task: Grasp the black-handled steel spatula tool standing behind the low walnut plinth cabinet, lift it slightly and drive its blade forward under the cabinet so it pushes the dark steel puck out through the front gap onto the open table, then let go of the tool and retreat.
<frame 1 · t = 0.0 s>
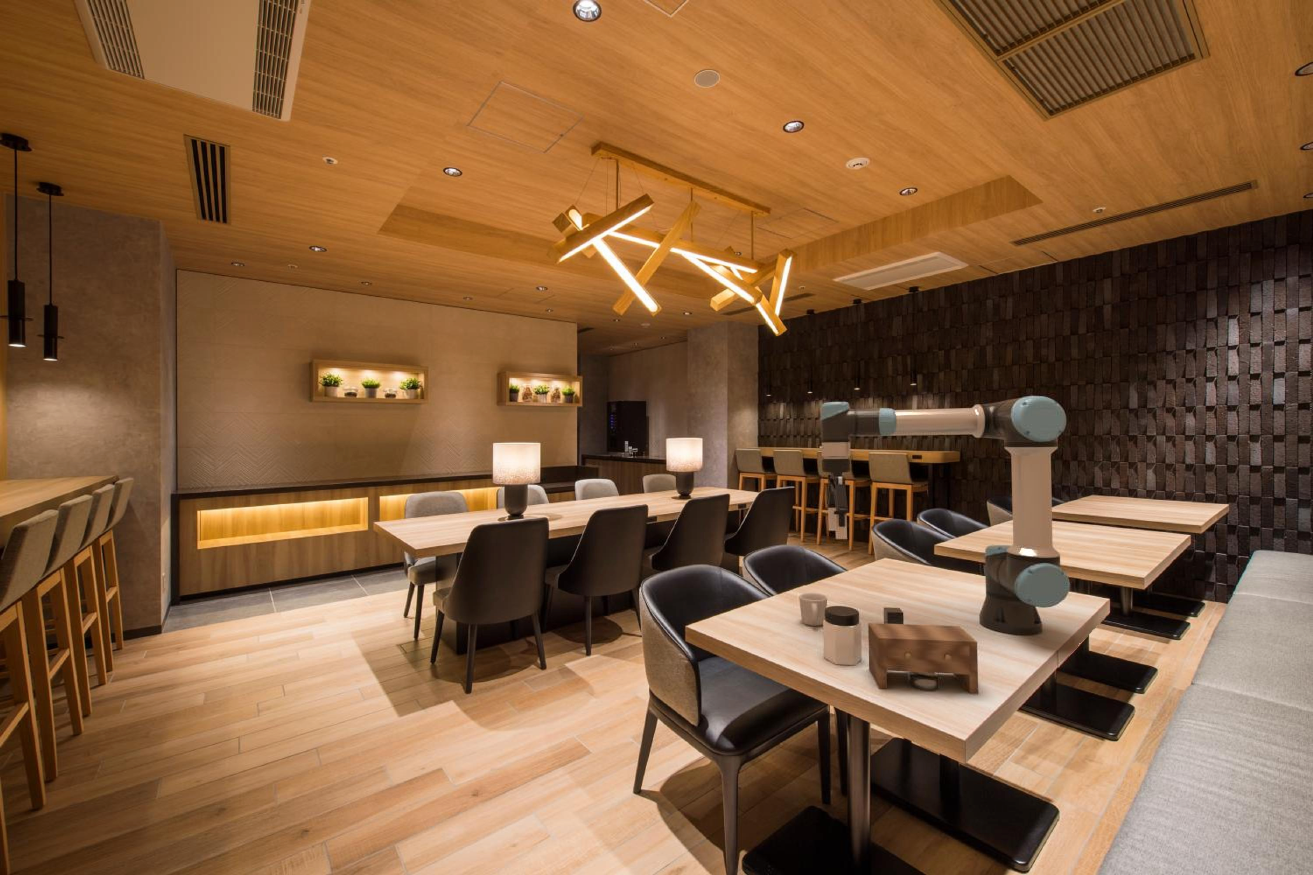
hand: (837, 534, 154), 28 cm above the table, fingers open, 13 cm apart
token: (923, 686, 122), on the table
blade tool: (893, 643, 147), on the table
cup: (813, 625, 163), on the table
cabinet: (920, 681, 124), on the table
jar: (842, 659, 137), on the table
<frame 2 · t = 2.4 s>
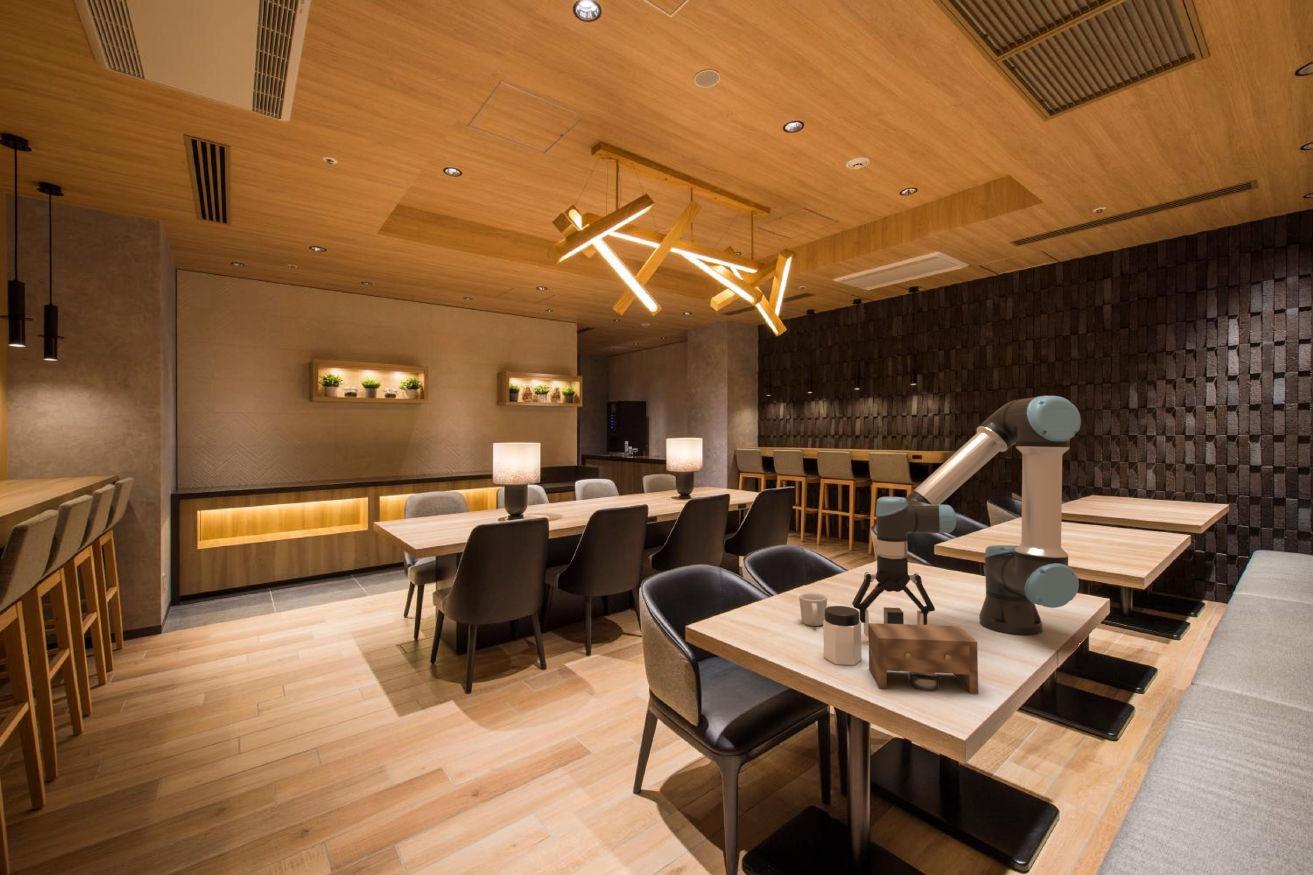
hand: (893, 635, 147), 2 cm above the table, fingers open, 13 cm apart
nothing on the table moved.
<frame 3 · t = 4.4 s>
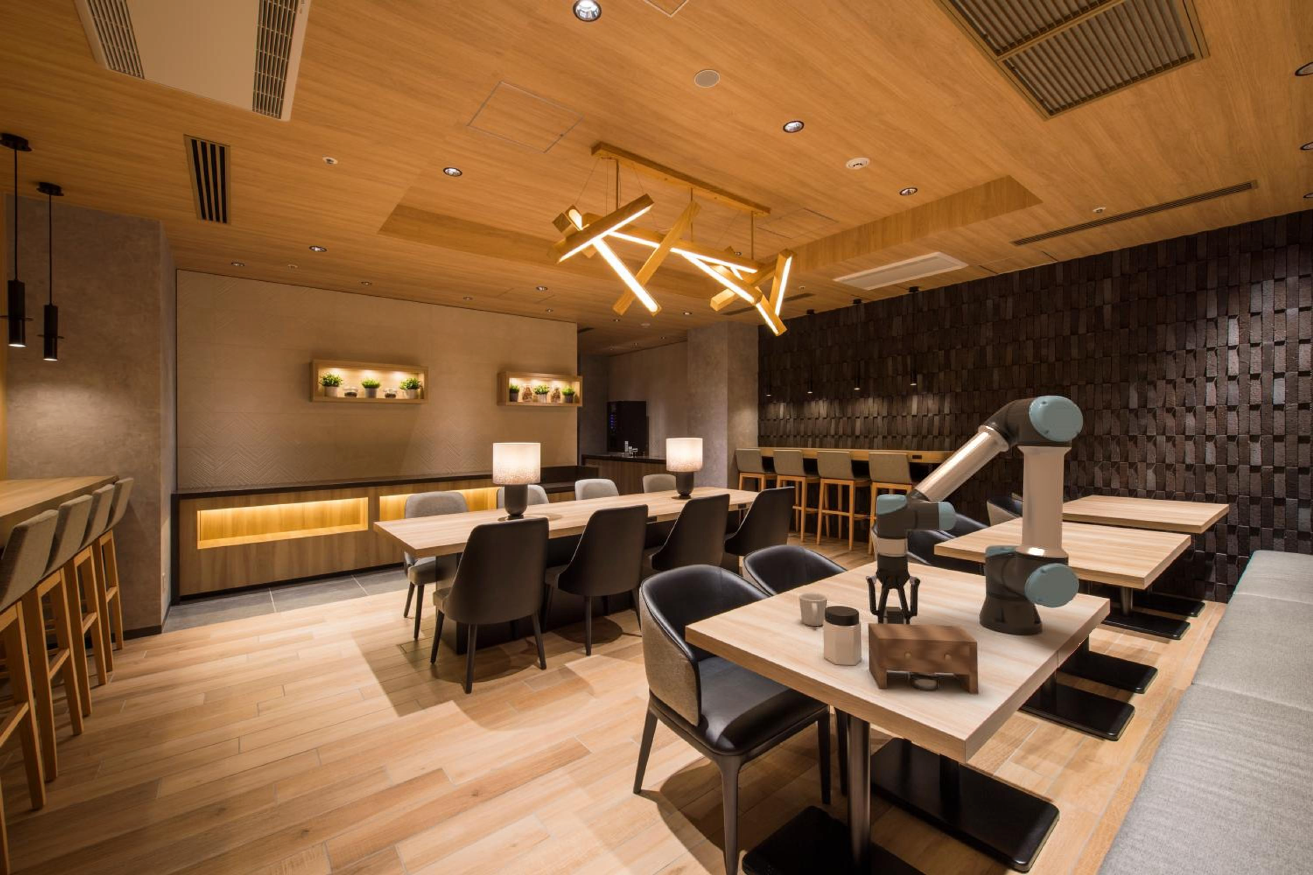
hand: (894, 641, 147), 1 cm above the table, fingers closed on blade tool, 4 cm apart
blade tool: (894, 642, 147), on the table, touching gripper
everything else where it was.
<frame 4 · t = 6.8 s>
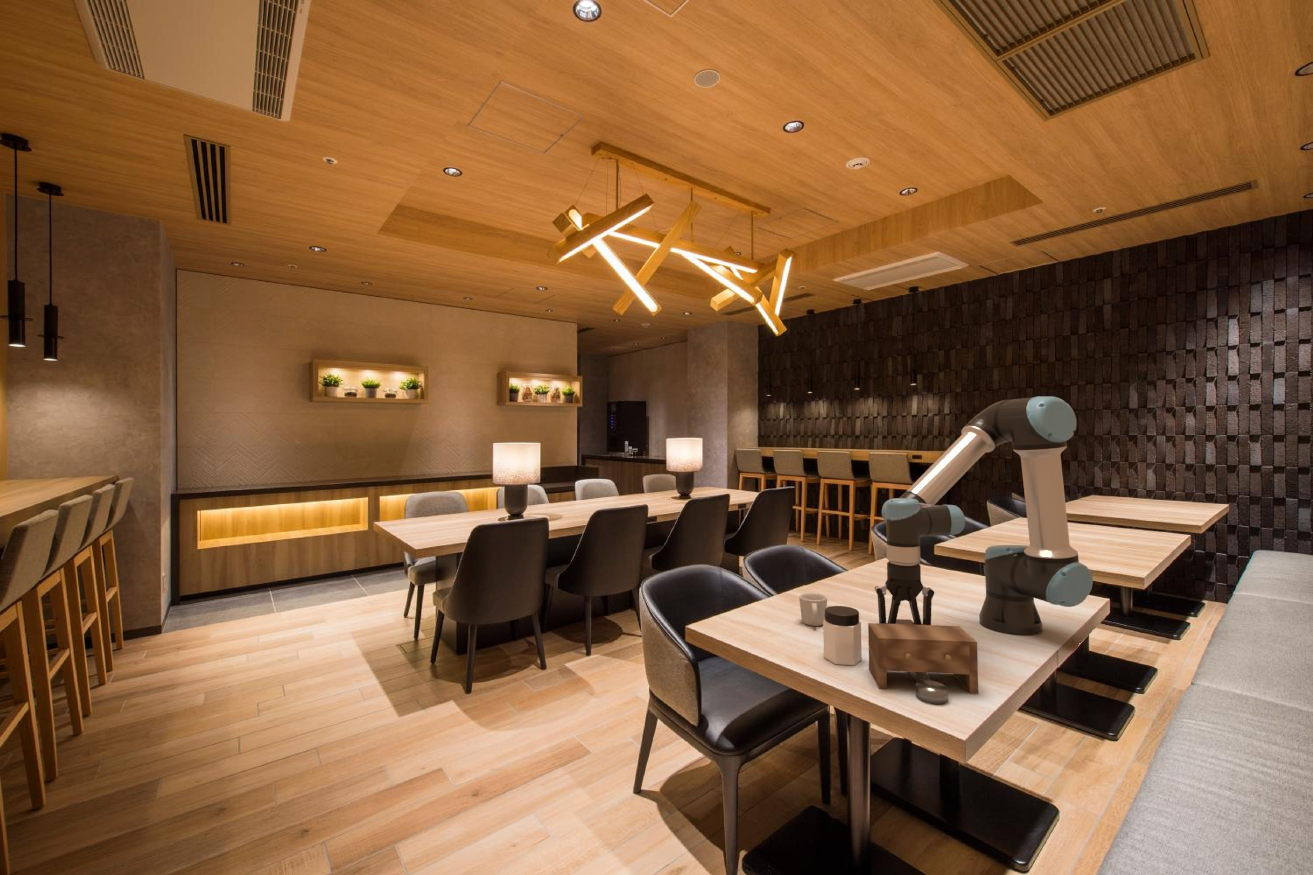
hand: (905, 657, 136), 1 cm above the table, fingers closed on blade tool, 4 cm apart
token: (931, 698, 116), on the table
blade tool: (905, 658, 136), on the table, touching gripper
everything else where it was.
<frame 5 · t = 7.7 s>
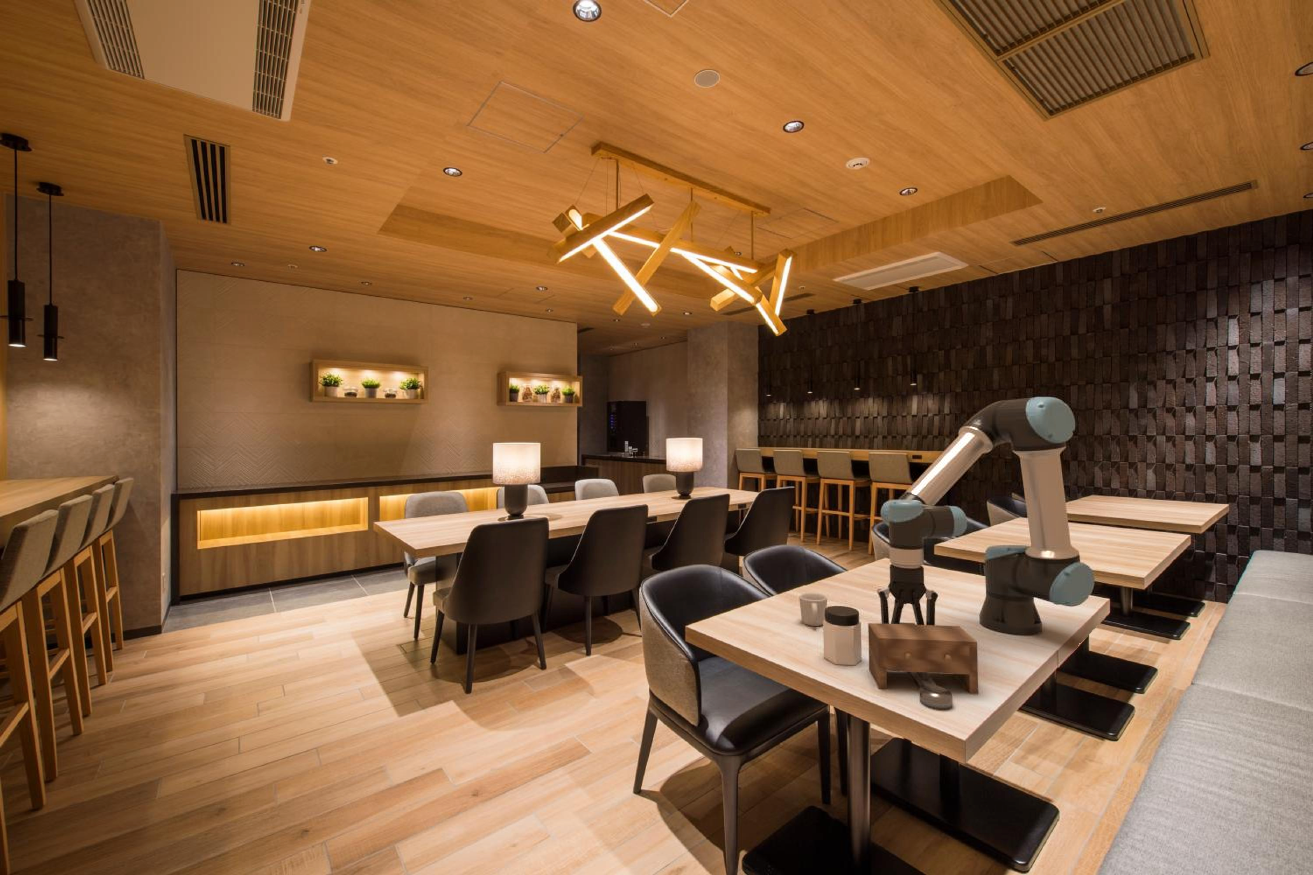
hand: (908, 661, 133), 1 cm above the table, fingers closed on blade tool, 4 cm apart
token: (936, 703, 114), on the table
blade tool: (908, 662, 133), on the table, touching gripper
everything else where it was.
when the fingers open (1 cm above the table, at t = 9.6 s): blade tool stays where it is, on the table.
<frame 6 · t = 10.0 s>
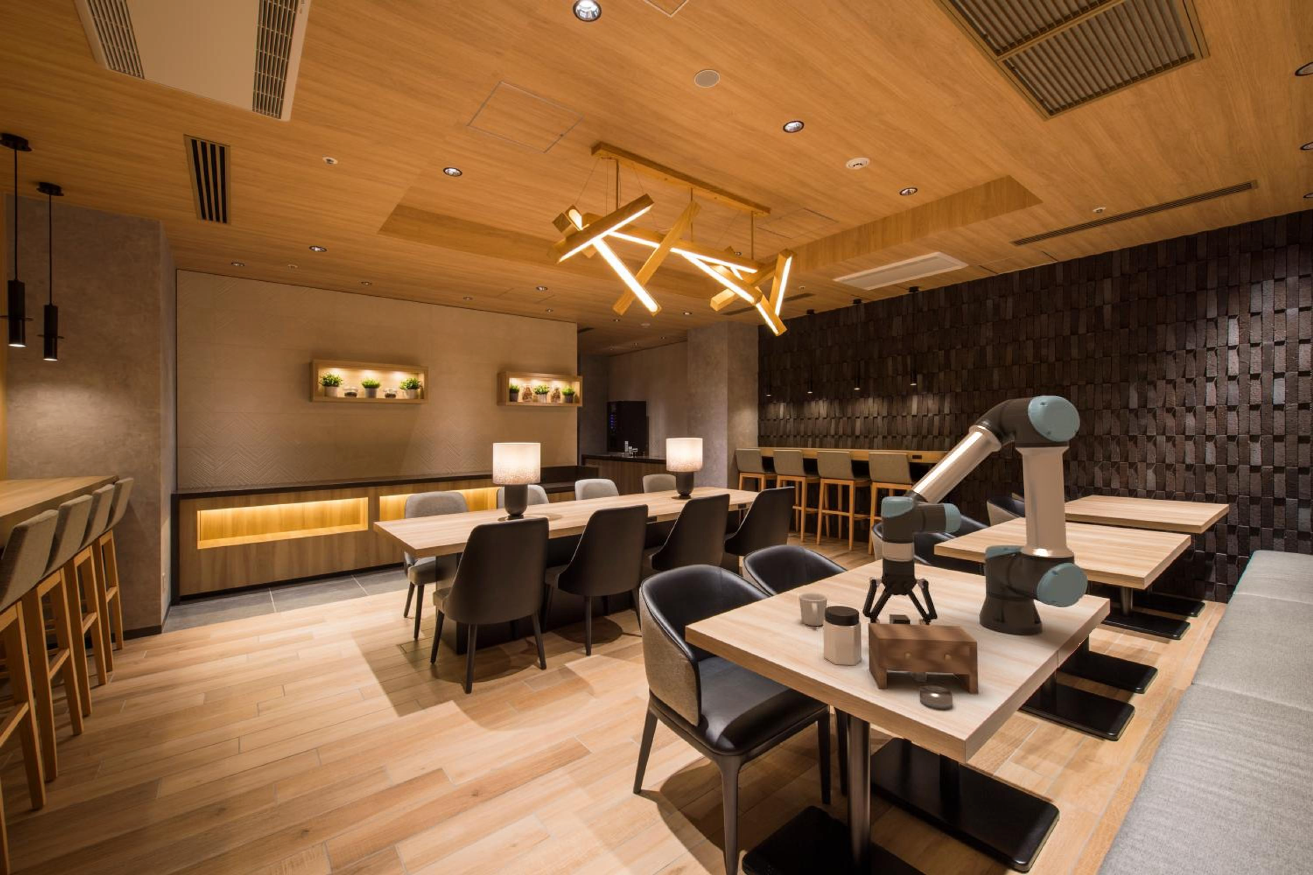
hand: (899, 645, 141), 2 cm above the table, fingers open, 10 cm apart
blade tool: (900, 652, 141), on the table
everything else where it was.
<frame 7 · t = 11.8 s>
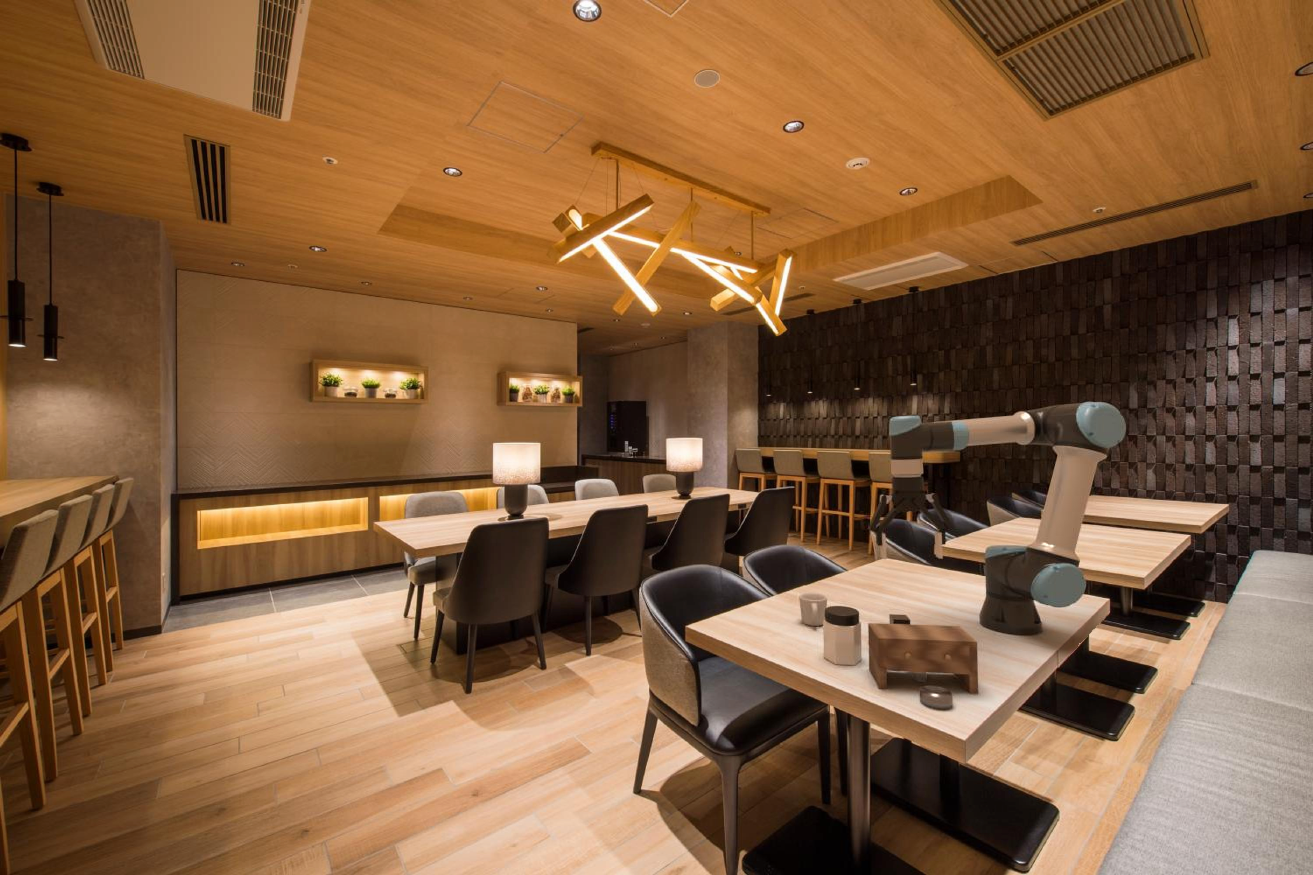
hand: (911, 557, 143), 23 cm above the table, fingers open, 13 cm apart
nothing on the table moved.
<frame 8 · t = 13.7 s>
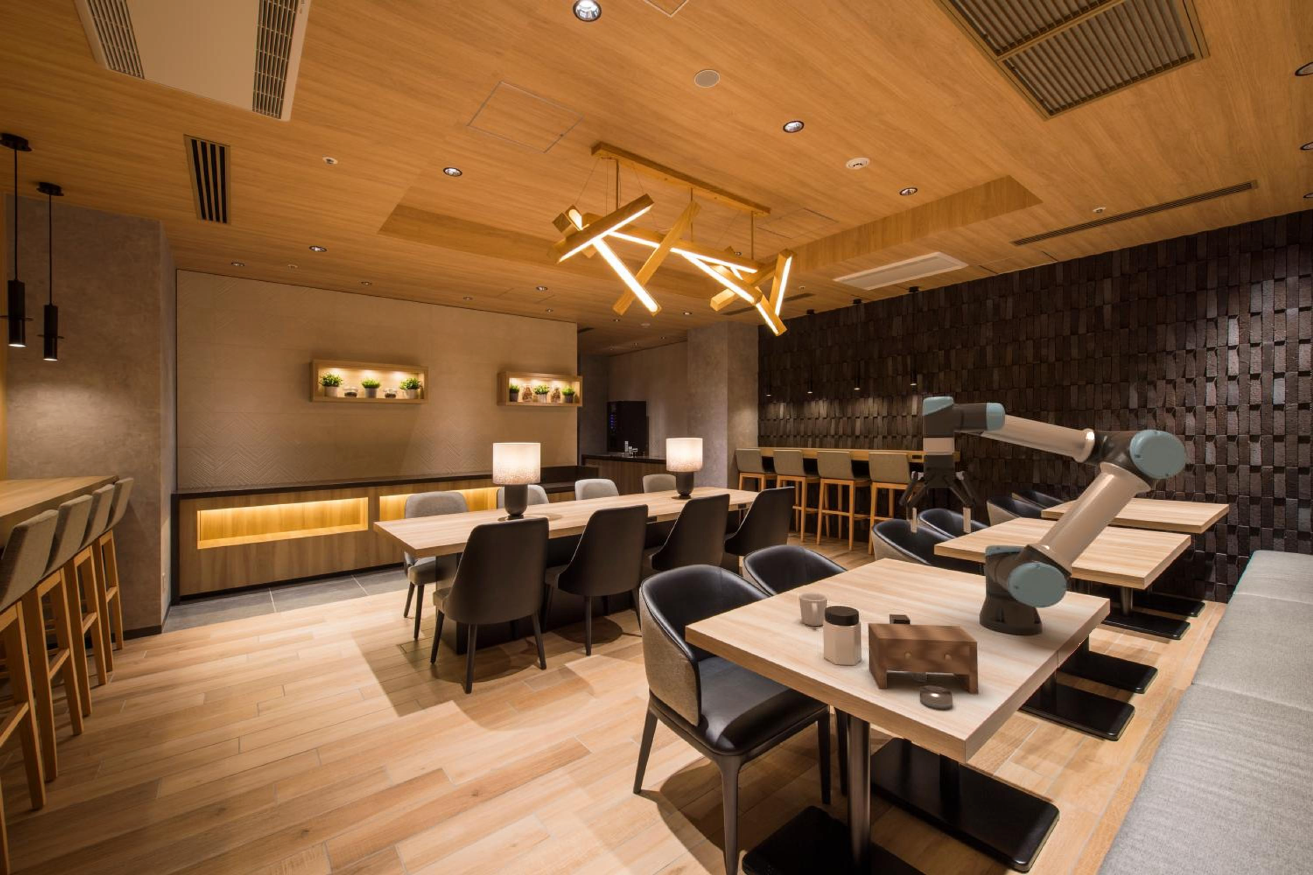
hand: (940, 532, 151), 29 cm above the table, fingers open, 13 cm apart
nothing on the table moved.
at the end: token inside the target area (4.8 cm from its centre), on the table; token tilted 0°; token touching table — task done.
